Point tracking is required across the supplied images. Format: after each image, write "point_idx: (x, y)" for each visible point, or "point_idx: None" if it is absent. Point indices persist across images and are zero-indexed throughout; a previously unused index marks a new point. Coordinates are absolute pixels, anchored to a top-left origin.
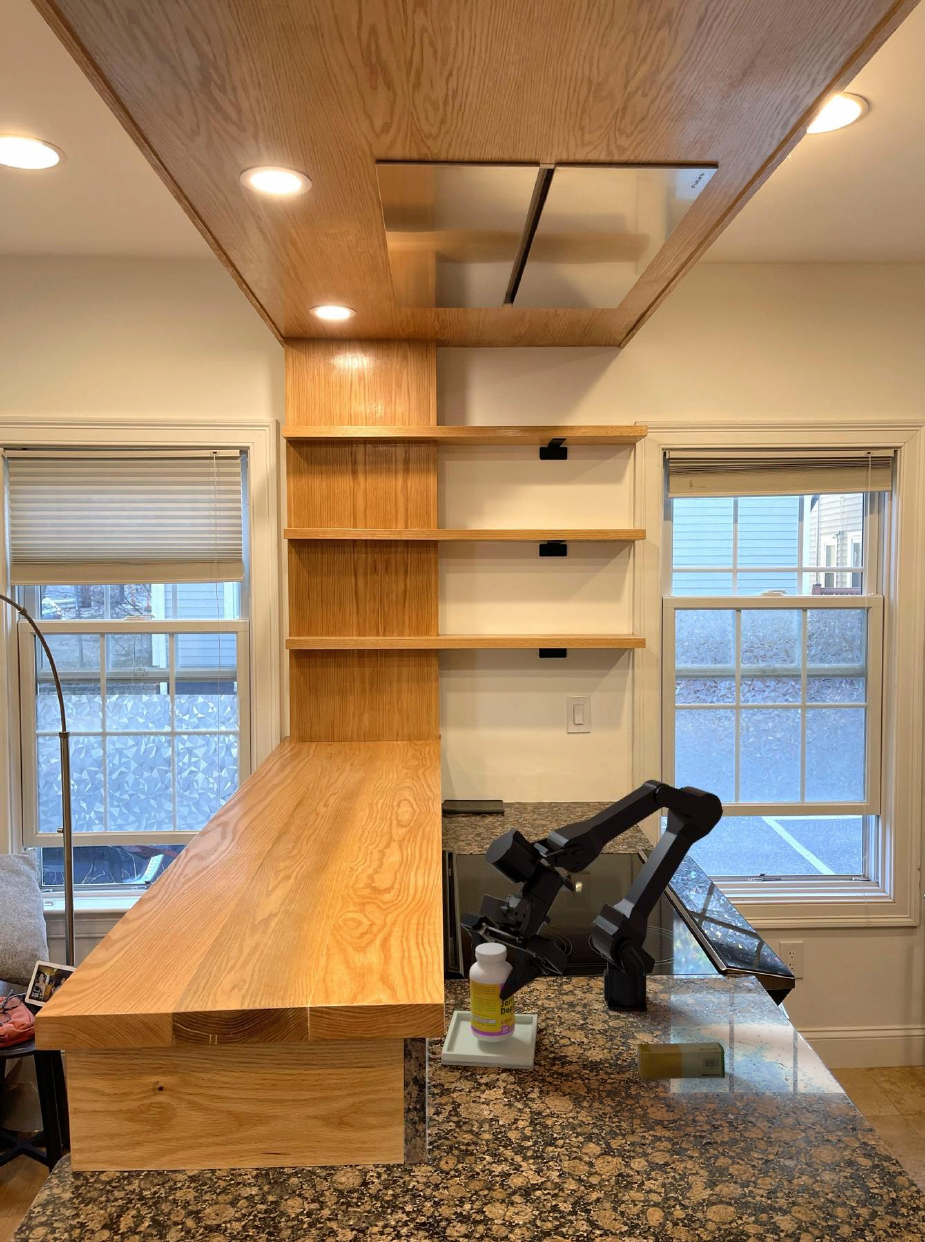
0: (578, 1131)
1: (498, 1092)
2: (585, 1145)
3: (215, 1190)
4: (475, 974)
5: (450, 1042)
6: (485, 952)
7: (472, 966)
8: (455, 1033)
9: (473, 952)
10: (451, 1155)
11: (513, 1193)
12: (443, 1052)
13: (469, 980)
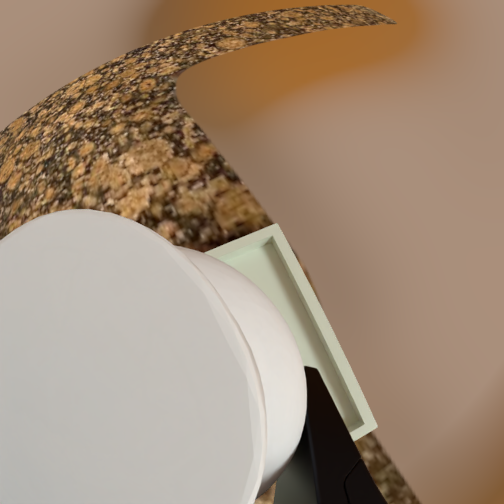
0: (21, 197)
1: (126, 210)
2: (18, 181)
3: (313, 20)
4: (197, 252)
5: (303, 304)
6: (56, 255)
7: (273, 332)
8: (321, 355)
9: (375, 496)
10: (147, 91)
11: (80, 96)
12: (275, 228)
13: (307, 371)
